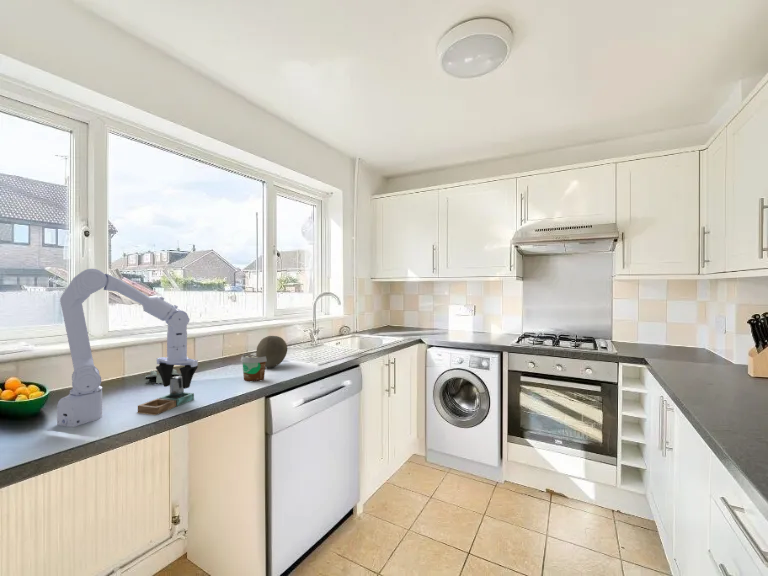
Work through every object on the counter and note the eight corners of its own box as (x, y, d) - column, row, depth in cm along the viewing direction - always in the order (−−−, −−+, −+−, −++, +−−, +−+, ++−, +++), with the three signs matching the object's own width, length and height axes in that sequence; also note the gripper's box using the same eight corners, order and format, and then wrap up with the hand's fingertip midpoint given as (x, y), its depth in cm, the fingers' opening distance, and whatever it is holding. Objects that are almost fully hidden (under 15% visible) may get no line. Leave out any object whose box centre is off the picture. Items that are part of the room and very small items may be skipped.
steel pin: (176, 404, 115) (177, 379, 115) (166, 403, 116) (166, 378, 116) (186, 400, 119) (186, 376, 119) (176, 399, 120) (176, 375, 120)
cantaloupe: (278, 371, 164) (279, 338, 164) (250, 369, 166) (250, 337, 166) (291, 364, 178) (291, 334, 178) (265, 363, 180) (265, 333, 180)
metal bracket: (183, 368, 145) (139, 371, 139) (182, 382, 144) (138, 386, 138) (187, 370, 158) (147, 372, 152) (186, 383, 157) (146, 386, 151)
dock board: (155, 418, 106) (155, 408, 106) (136, 415, 108) (136, 406, 108) (194, 401, 121) (194, 393, 121) (177, 399, 123) (177, 391, 123)
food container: (233, 379, 149) (234, 355, 149) (245, 376, 154) (246, 353, 154) (255, 383, 143) (255, 359, 143) (266, 380, 149) (266, 356, 148)
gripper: (204, 345, 120) (204, 385, 120) (169, 342, 123) (168, 381, 123) (188, 348, 113) (188, 391, 113) (151, 346, 116) (150, 387, 117)
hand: (176, 386), depth 118 cm, fingers open, 7 cm apart
